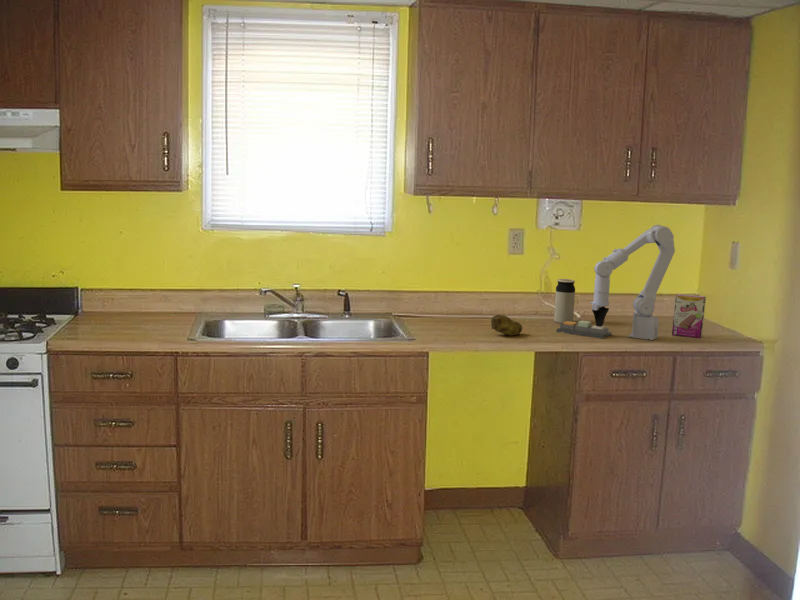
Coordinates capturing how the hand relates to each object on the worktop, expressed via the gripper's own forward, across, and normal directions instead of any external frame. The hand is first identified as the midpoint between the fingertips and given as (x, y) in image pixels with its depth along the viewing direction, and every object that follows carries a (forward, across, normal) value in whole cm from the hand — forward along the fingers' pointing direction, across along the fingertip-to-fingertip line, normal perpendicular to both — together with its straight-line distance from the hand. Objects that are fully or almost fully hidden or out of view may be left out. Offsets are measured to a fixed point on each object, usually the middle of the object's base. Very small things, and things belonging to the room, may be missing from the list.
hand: (599, 326), depth 323 cm
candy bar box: (+4, -23, +28) cm, 37 cm away
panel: (+4, 0, -6) cm, 7 cm away
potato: (+4, +24, -28) cm, 37 cm away
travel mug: (+4, -18, -22) cm, 28 cm away
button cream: (+2, 0, 0) cm, 2 cm away
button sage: (+1, 0, -6) cm, 6 cm away
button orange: (+2, 0, -12) cm, 12 cm away
